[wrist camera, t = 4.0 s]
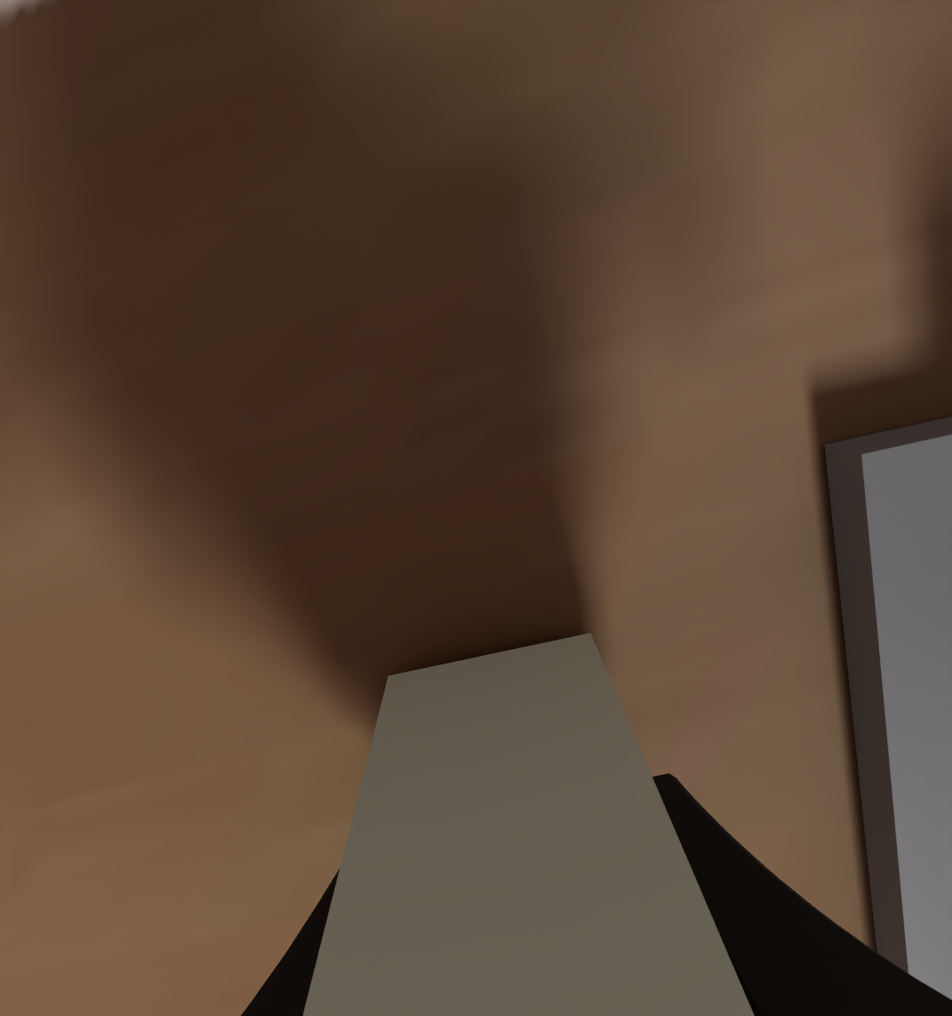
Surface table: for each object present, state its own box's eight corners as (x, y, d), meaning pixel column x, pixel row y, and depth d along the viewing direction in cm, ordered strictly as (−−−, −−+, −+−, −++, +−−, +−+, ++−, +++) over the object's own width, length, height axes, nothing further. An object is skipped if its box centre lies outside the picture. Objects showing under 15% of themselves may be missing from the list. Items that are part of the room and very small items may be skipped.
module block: (633, 849, 14) (845, 1491, 6) (447, 886, 14) (420, 1557, 6) (590, 632, 13) (782, 1081, 5) (387, 675, 13) (263, 1173, 5)
